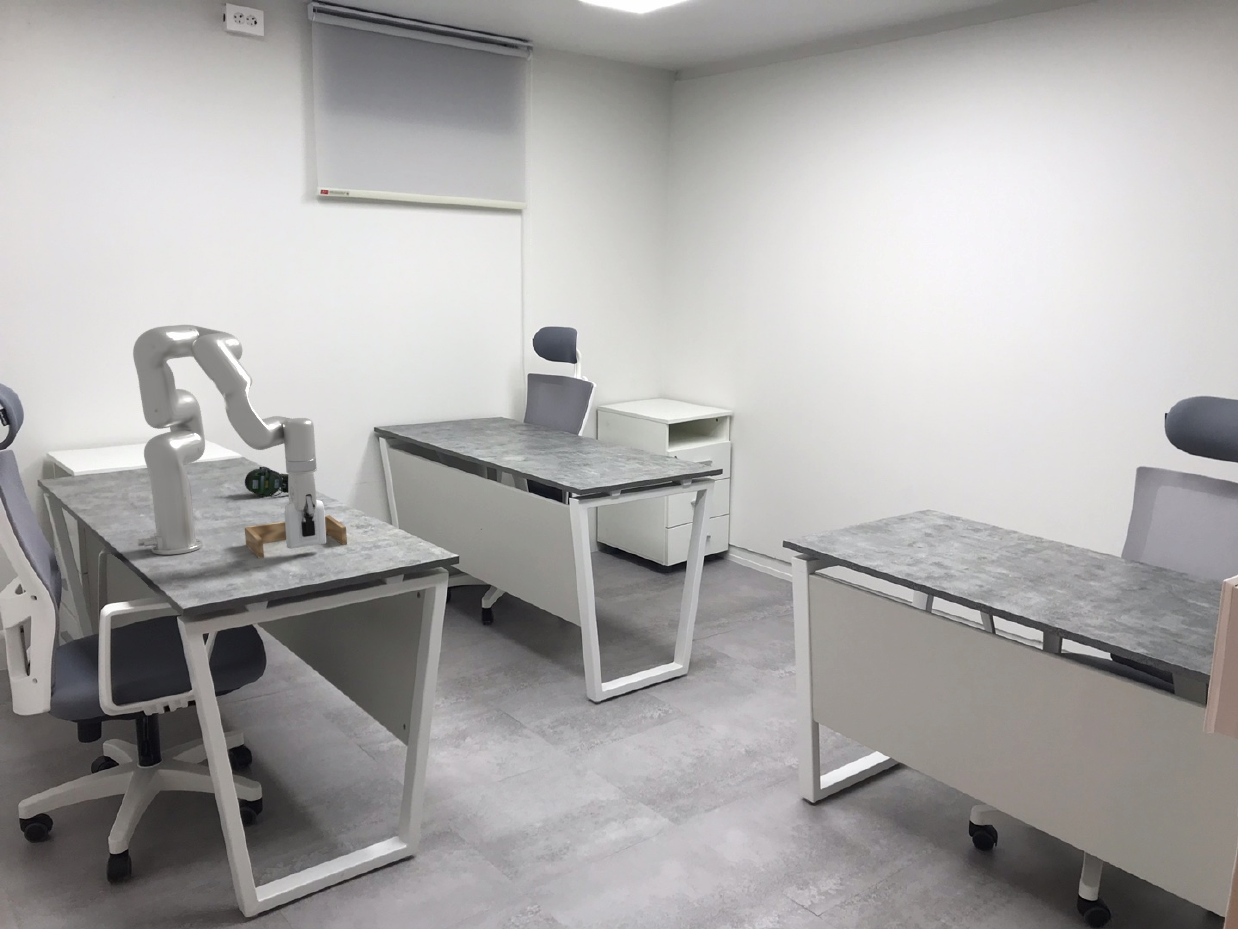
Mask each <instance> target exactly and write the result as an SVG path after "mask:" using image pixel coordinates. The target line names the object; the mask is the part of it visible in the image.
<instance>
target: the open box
mask: <svg viewBox="0 0 1238 929" xmlns="http://www.w3.org/2000/svg"><path fill="white" fill-rule="evenodd" d="M325 530H326V535H328V536H330V535H331V536H332V537H331V536H330V537H331V538H332V539H334V540H335V541H337V542H338V541H339V542H340V545H342V546H346V545H348V536H347V526H345V524H343V523H342V522H340V521H338V520H337V519H336V518H334V517H332V516H331V515H325ZM244 537H245V545H246V546H247V547H248V548H249V550H250V551H251V552H252V553H254V555H256V557H257V558H259V559H264V558H265V552H264V544H268V543H274V542H280V541H281V542H282V541H286V527H285V521H278V522H270V523H265V524H259V525H257V524H256V525H250V526H244ZM339 542H338V543H339Z"/></svg>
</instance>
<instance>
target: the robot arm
mask: <svg viewBox="0 0 1238 929" xmlns="http://www.w3.org/2000/svg"><path fill="white" fill-rule="evenodd" d="M242 355H243V346H242V344H241V342H240V340H239V339H238V338H237V337H236V336H235V335H233V334H232V333H229V332H226V331H221V330H216V329H211V328H209V327H203V326H198V325H194V324H177V325H165V326H157V327H153V328H150V329H148V330H146V331H145V332H144V331H143V333H141V334H140V336H138V337H137V339H136V341H135V343H134V346H133V349H132V357H133V361H134V366H135V371H136V374H137V378H138V385H139V386H138V387H139V391H140V393H139V394H140V400H141V405H142V412H143V417H144V419H145V422H146V424H147V425H148V426H150V427H151V428H153V429H158V430H159V429H160V430H161V429H168V428H169V429H170V431H169V432H165V433H160V434H158V435H155V436H153V437H152V438H150V439H149V440H148V441H147V442H146V444H145V445H144V449H143V457H144V458H143V459H144V462H145V464H146V467H147V471H148V474H149V481H150V488H151V495H152V503H153V504H152V505H153V513H154V515H153V516H154V523H155V530H156V531H155V532H153V535H150V537H146V538H145V537H143V538H142V537H141V538H137V545H138V547H142V546H143V547H150V546H151V548H150V549H151V552H152V553H153V554H155V555H163V556H165V555H169V556H171V555H180V554H186V553H190V552H195V551H197V550H199V549H201V548H202V547H203V541H202V539H198V538H197V537H196V527H195V519H194V518H195V516H194V507H193V506H194V505H193V495H192V489H191V488H192V487H191V486H192V485H191V481H190V478H189V475H188V473H187V471H186V468H185V466H186V465H188V464H190V463H191V464H192V463H193V462H197V460H199V459H200V458H202V456H203V455H204V453H205V451H206V450H205V449H206V440H205V439H206V438H205V431H204V424H203V419H202V413H201V412H202V410H201V406H200V403H199V401H198V399H197V398H196V397H195V395H194V394H193V392H192V393H191V391H188V390H186V389H182V388H181V389H180V388H176V383H175V382H176V381H175V376H174V372H173V370H172V368H171V366H170V365H169V363H168V361H169V360H173V359H181V358H188V357H190V358H191V357H192V358H193V359H194V360H195V362H196V363H197V364H198V366H199V367H200V368H201V369H202V371H203V372H204V373H205V375H206V376H207V378H208V379H209V380H210V381H211V383H212V384H213V385H214V386H215V388H216V389H217V390H218V391H219V393H220V395H221V396H222V397H223V403H224V404H223V405H224V409H225V412H226V415H227V419H228V421H229V423H230V425H231V427H232V428H233V429H234V431H235V432H236V433H237V434H238V436H239V437H240V438H241V440H242V441H243V442H244V443H245V444H246V445H248V447H249V448H251V449H253V450H256V451H257V450H258V451H264V450H267V449H270V448H273V447H276V446H280V445H284V459H285V469H286V471H285V472H286V474H288V491H289V493H288V504H289V503H294V506H295V510H297V511H299V512H300V511H301V512H302V520H303V522H301V524H302V536H303V537H307V536H314V535H315V524H314V509H316V507H317V500H318V499H317V492H316V491H317V490H316V481H315V480H316V479H315V474H314V473H316V472H317V471H318V470H317V467H318V466H317V456H316V453H317V452H316V443H315V442H316V440H315V426H314V425H315V424H314V422H313V420H312V419H310V418H307V417H294V418H292V417H291V418H290V417H286V416H281V415H274V416H270V417H266V418H260V416H259V415H258V414H257V413H256V411H255V410H254V409H253V405H251V403H250V399H249V392H250V388H251V386H252V384H253V378H252V376H251V375H250V374H249V373H248V371H247V370H246V369H245V367H244V366H243V365H242V363H241V362H240V359H241V358H242ZM312 502H313V504H312ZM313 505H314V506H313ZM306 507H307V510H304V508H306ZM305 512H307V513H306V514H305Z"/></svg>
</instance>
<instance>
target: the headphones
mask: <svg viewBox="0 0 1238 929" xmlns="http://www.w3.org/2000/svg"><path fill="white" fill-rule="evenodd" d="M288 474H289V473H280V472H278V471H275V470H273V469H270V468H269V467H267V466H259V468H255V469H253V470H251V471H249V472H248V473H246V476H245V479H244V486H245V488H246V490H248V492H251V493H252V494H255V495H258V496H260V497H261V496H262V498H267V497H268V496H270V498H272V497H277V496H279V495H281V494H282V493H286V494H289V491H288ZM279 490H280V492H278V491H279ZM277 492H278V493H277ZM276 493H277V494H276ZM274 494H275V495H274Z"/></svg>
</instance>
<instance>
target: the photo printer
mask: <svg viewBox="0 0 1238 929" xmlns="http://www.w3.org/2000/svg"><path fill="white" fill-rule="evenodd" d="M316 500H317V507H316V509H314V524H315V535H314V536H307V537H303V536H302V524H301V522H303V520H302V512H301V511H300V512H299V511H297V510H295V506H294V503H289V502H288V504H286V505H285V506H284V522H285V527H286V540H285V542H286V548H287V549H290V550H291V549H296V548H297V549H299V548H305V547H312V546H319V545H326V543H327V534H326V530H325V516H326V513H325V506H324V503H323V500H322V501H321V500H318V499H316ZM312 504H313V502H312ZM313 506H314V505H313ZM304 510H307V507H306V508H304ZM306 513H307V512H305V514H306Z"/></svg>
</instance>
